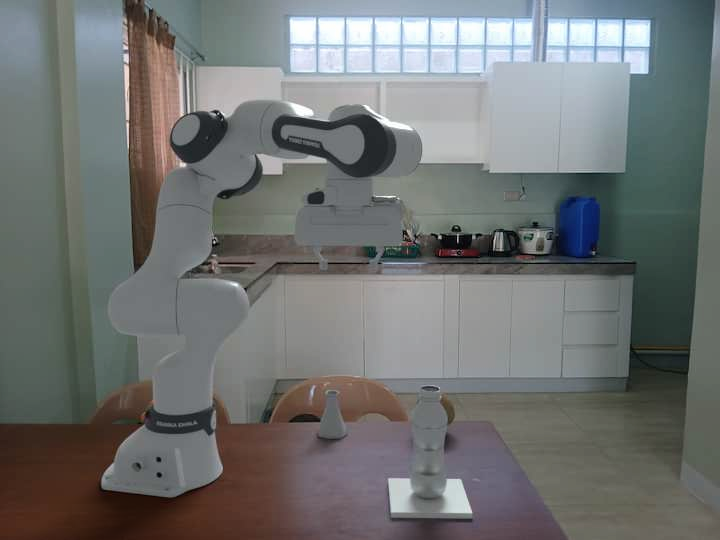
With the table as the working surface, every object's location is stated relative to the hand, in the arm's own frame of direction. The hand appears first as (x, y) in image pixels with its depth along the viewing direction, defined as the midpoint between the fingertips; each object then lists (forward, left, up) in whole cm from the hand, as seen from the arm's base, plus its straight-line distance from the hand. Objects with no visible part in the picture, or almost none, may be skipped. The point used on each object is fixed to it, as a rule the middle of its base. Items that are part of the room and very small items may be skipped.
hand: (348, 269), depth 110 cm
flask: (-4, +20, -41) cm, 46 cm away
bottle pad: (+15, -9, -41) cm, 45 cm away
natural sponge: (+20, +21, -41) cm, 50 cm away
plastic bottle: (+15, -9, -40) cm, 44 cm away
